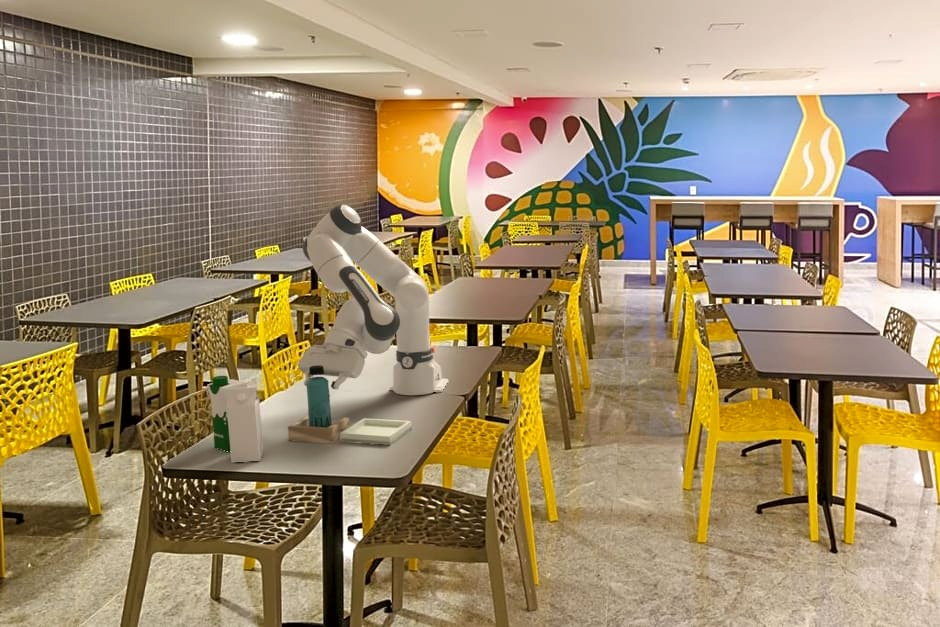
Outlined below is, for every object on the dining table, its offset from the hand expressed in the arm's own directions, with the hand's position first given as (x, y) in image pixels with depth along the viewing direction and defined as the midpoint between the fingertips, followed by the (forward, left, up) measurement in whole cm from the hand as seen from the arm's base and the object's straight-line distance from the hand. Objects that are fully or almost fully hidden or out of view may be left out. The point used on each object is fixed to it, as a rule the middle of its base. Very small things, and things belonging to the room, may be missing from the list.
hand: (320, 386), depth 247 cm
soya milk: (+17, -19, -14) cm, 29 cm away
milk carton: (+25, -9, -14) cm, 30 cm away
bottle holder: (+2, 0, -14) cm, 14 cm away
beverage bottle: (+2, 0, -14) cm, 14 cm away
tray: (-1, +16, -14) cm, 21 cm away
